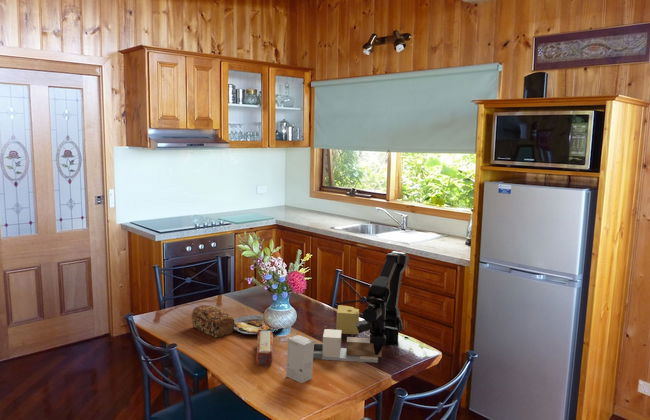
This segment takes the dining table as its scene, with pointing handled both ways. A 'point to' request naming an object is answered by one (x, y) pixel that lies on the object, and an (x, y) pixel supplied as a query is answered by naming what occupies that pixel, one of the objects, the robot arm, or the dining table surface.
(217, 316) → the bread
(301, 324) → the dining table surface
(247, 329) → the food plate
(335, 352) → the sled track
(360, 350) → the walnut block
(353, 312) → the cheese
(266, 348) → the snack package
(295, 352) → the skincare box
